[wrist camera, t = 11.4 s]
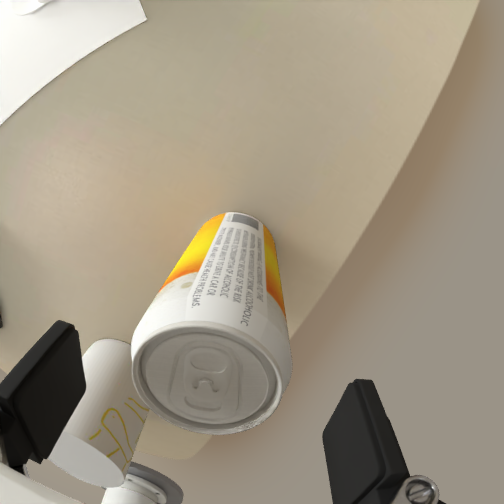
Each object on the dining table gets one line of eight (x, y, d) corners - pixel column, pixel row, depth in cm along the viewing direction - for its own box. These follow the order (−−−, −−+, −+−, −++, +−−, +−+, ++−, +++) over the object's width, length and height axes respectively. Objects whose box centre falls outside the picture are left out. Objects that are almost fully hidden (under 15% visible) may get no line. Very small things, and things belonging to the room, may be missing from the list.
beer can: (191, 278, 25) (126, 421, 11) (201, 203, 23) (117, 295, 9) (266, 291, 25) (272, 448, 11) (282, 217, 23) (317, 331, 9)
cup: (157, 407, 30) (128, 496, 19) (90, 386, 30) (46, 464, 18) (160, 351, 28) (119, 452, 16) (83, 329, 27) (21, 410, 16)
